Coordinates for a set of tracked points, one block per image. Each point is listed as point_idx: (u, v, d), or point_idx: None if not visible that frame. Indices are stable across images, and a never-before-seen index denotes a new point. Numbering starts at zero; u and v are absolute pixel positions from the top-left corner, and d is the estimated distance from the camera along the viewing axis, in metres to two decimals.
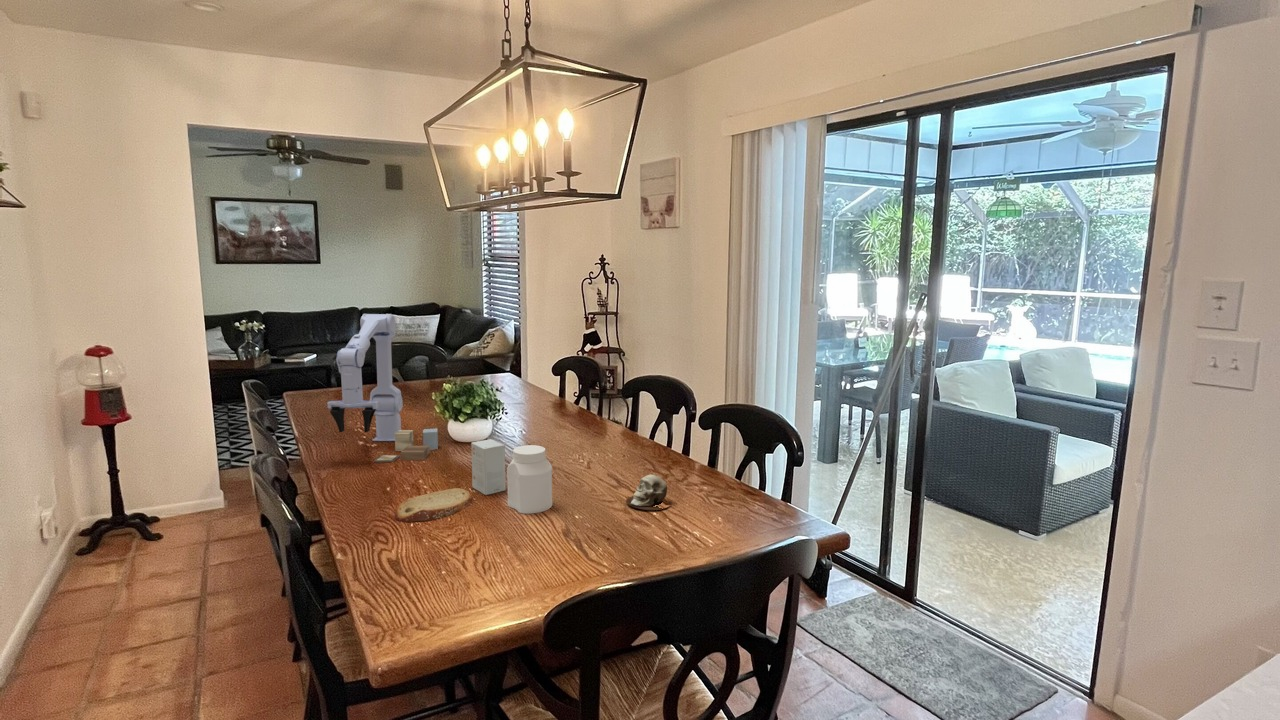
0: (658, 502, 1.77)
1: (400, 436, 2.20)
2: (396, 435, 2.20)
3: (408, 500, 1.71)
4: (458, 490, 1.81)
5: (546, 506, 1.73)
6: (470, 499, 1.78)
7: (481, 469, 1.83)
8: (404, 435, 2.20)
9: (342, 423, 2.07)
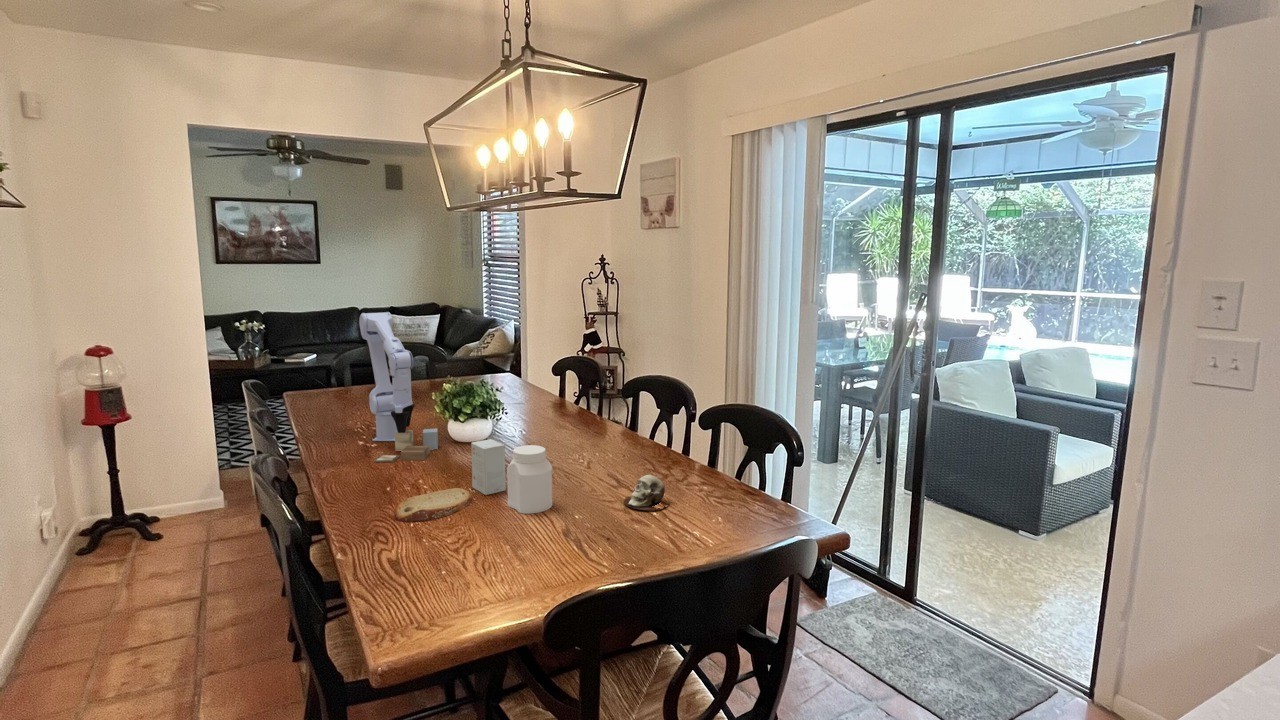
0: (656, 502, 1.77)
1: (400, 436, 2.20)
2: (396, 435, 2.20)
3: (408, 500, 1.71)
4: (458, 490, 1.81)
5: (546, 506, 1.73)
6: (470, 499, 1.78)
7: (481, 469, 1.83)
8: (404, 435, 2.20)
9: (406, 419, 2.25)
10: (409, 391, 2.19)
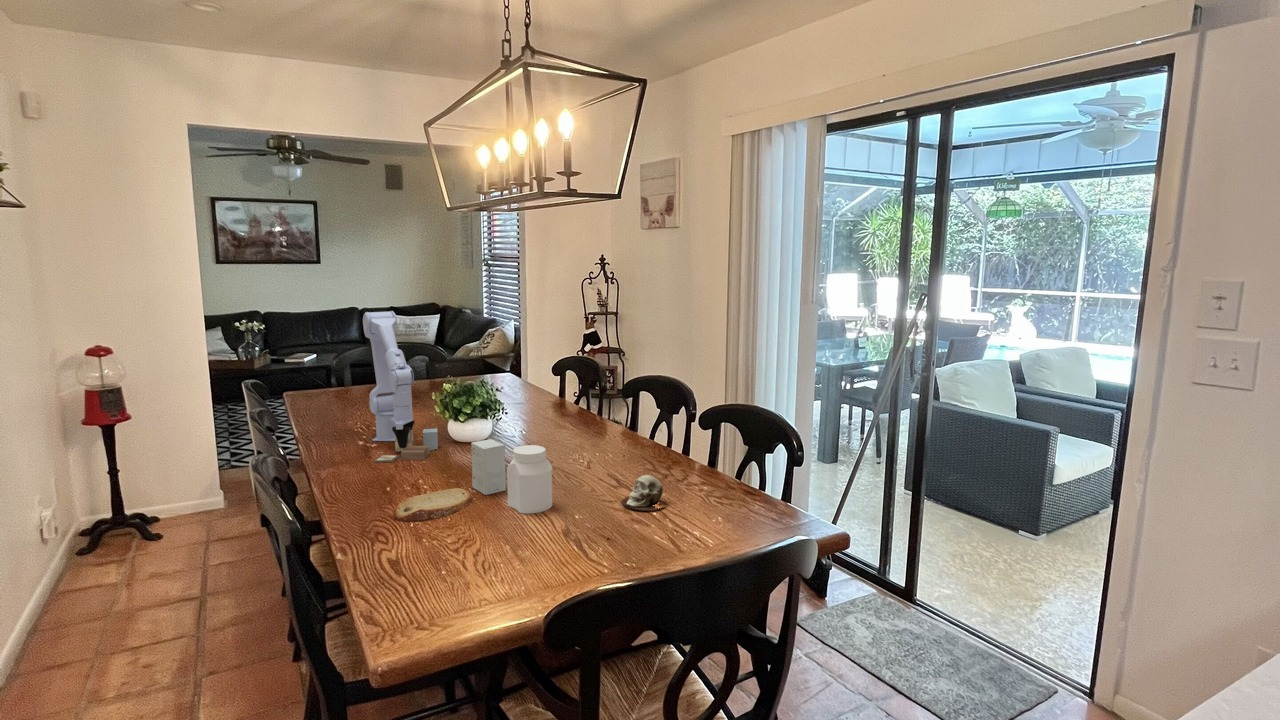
0: (654, 502, 1.77)
1: None
2: None
3: (407, 499, 1.71)
4: (458, 490, 1.81)
5: (546, 506, 1.73)
6: (469, 499, 1.78)
7: (481, 469, 1.83)
8: None
9: None
10: (410, 407, 2.20)
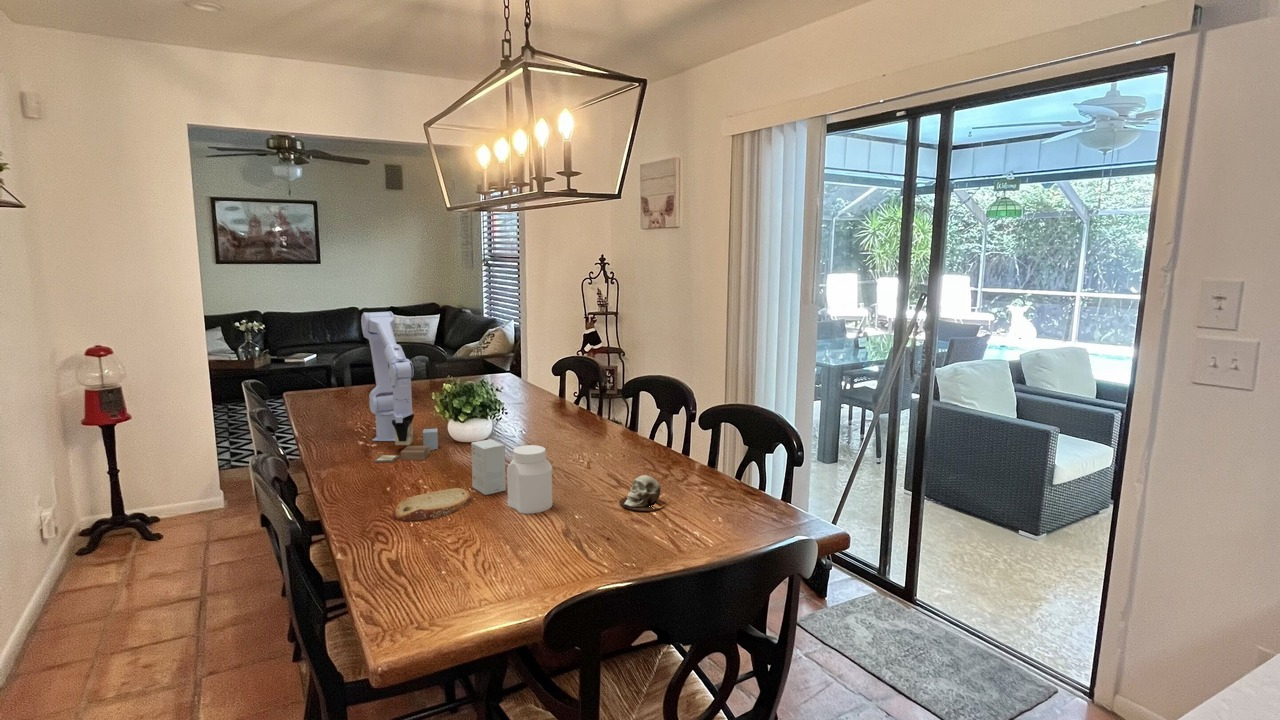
0: (652, 503, 1.77)
1: None
2: None
3: (407, 499, 1.72)
4: (458, 490, 1.81)
5: (546, 506, 1.73)
6: (469, 499, 1.78)
7: (481, 469, 1.83)
8: None
9: None
10: (409, 401, 2.20)
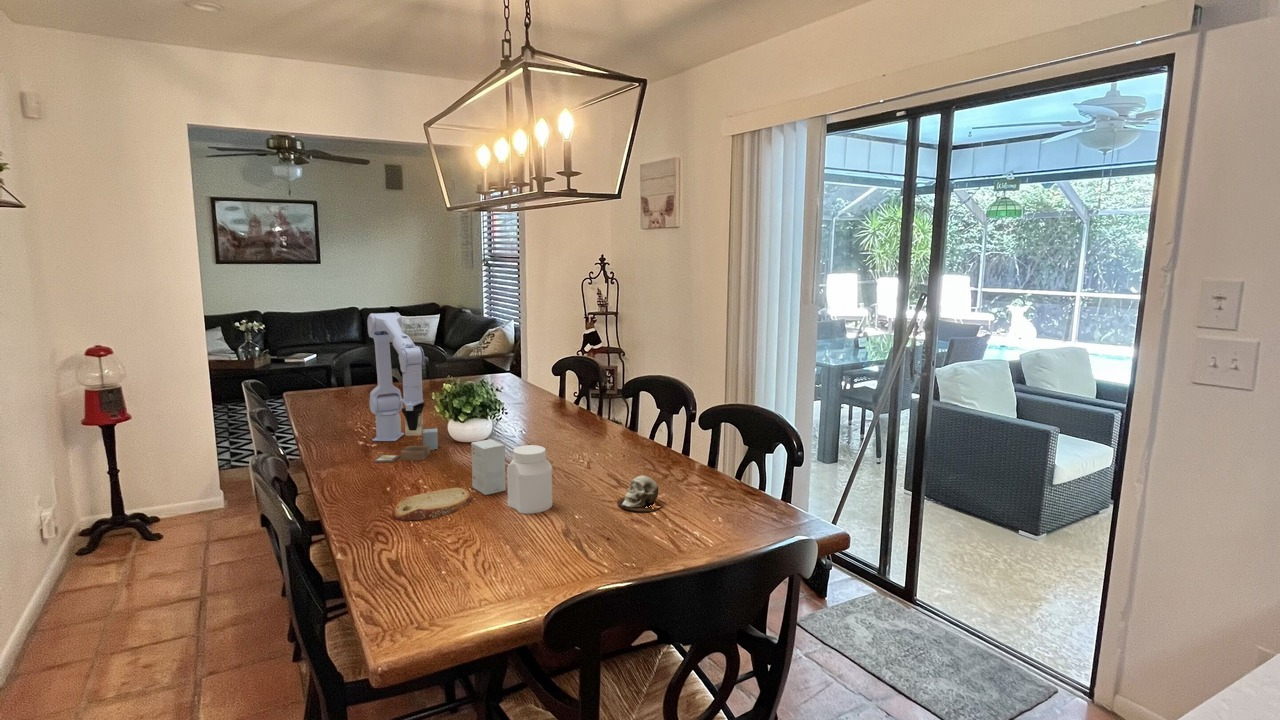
0: (649, 503, 1.76)
1: None
2: None
3: (407, 499, 1.72)
4: (458, 490, 1.81)
5: (546, 506, 1.73)
6: (469, 499, 1.78)
7: (481, 469, 1.83)
8: None
9: None
10: (420, 388, 2.11)
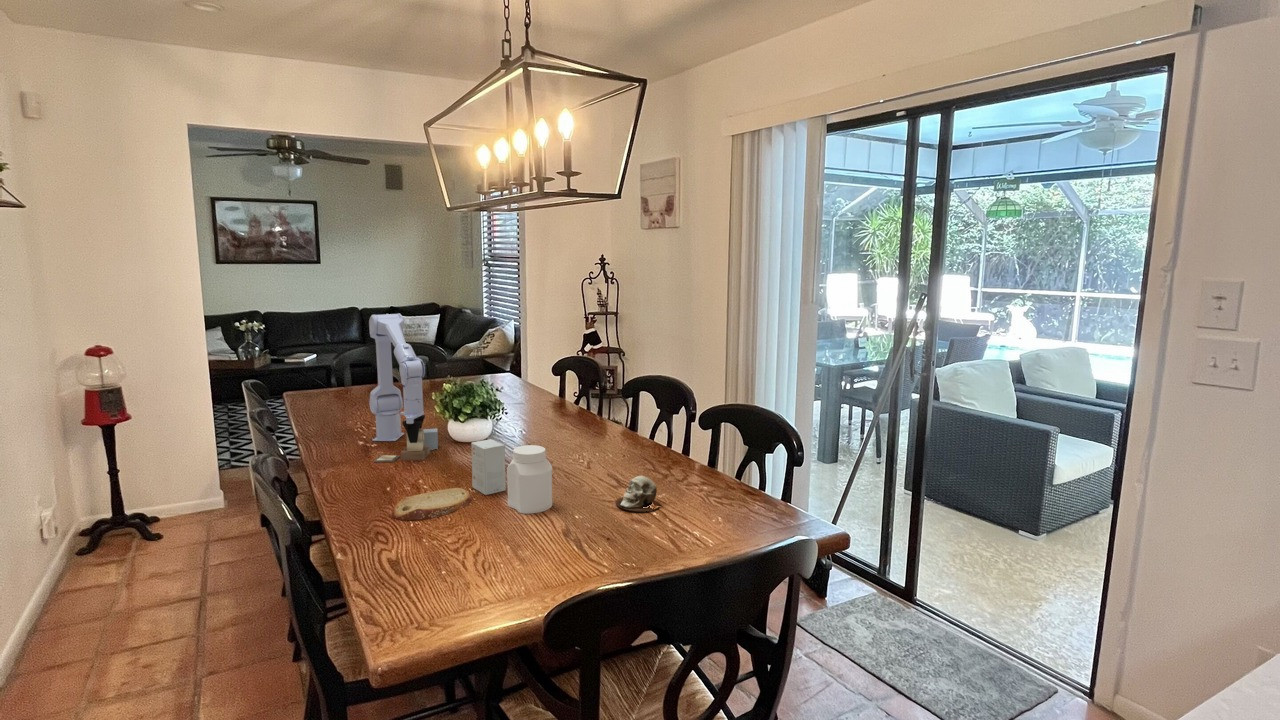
0: (648, 503, 1.76)
1: None
2: None
3: (406, 499, 1.72)
4: (458, 490, 1.81)
5: (546, 506, 1.73)
6: (469, 499, 1.78)
7: (481, 469, 1.83)
8: None
9: None
10: (420, 401, 2.12)
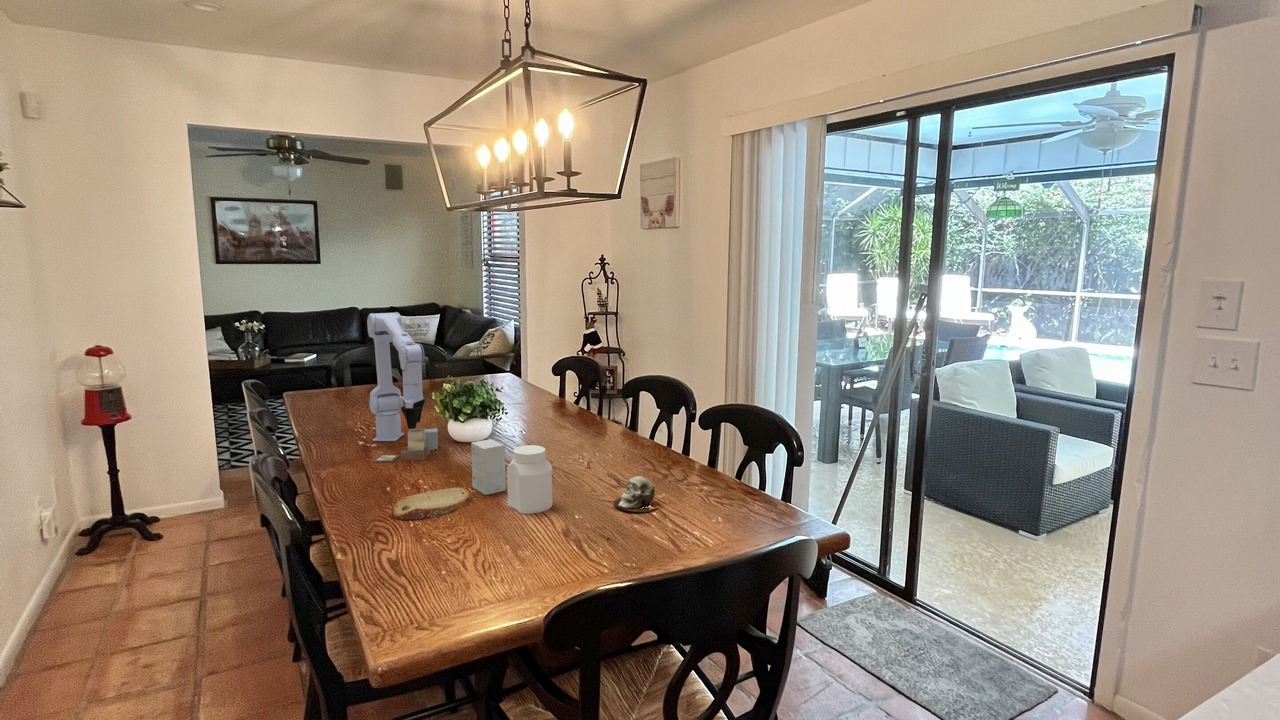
0: (646, 504, 1.76)
1: (413, 435, 2.12)
2: (409, 434, 2.12)
3: (406, 498, 1.72)
4: (458, 489, 1.81)
5: (546, 506, 1.73)
6: (468, 499, 1.78)
7: (481, 469, 1.83)
8: (417, 433, 2.12)
9: None
10: (420, 386, 2.11)
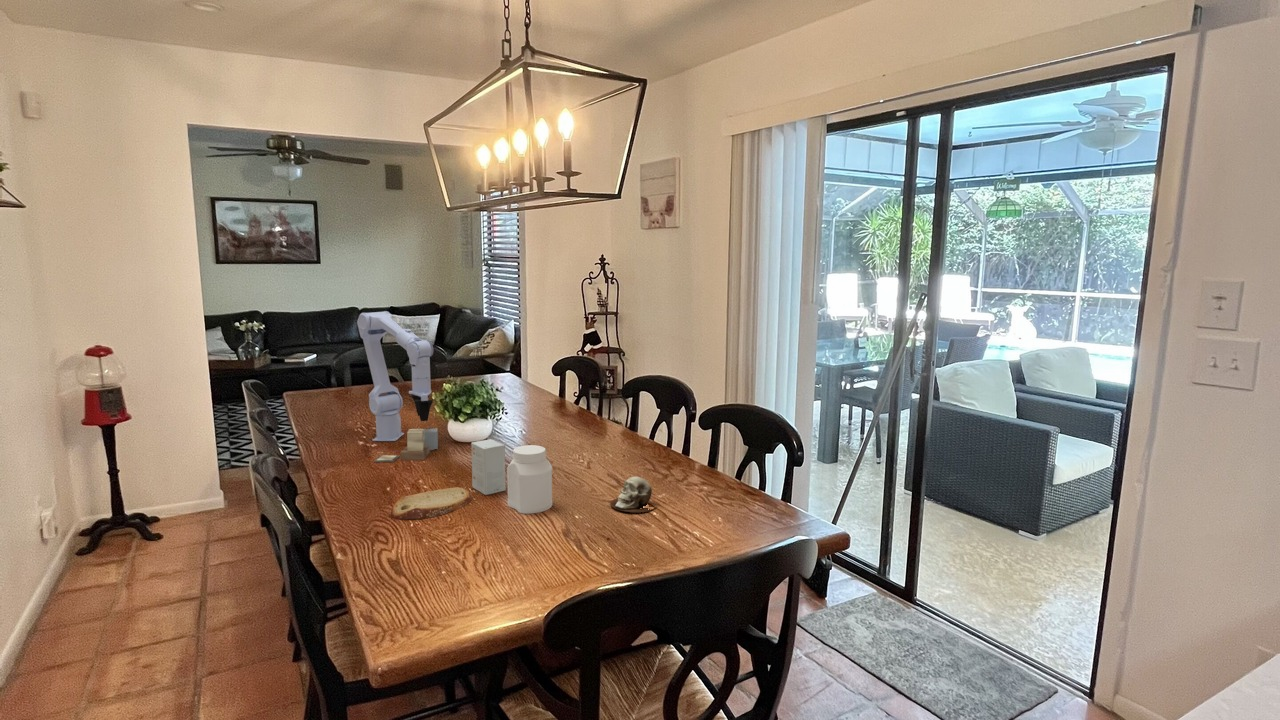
0: (643, 504, 1.76)
1: (413, 435, 2.12)
2: (408, 434, 2.12)
3: (406, 497, 1.73)
4: (458, 489, 1.81)
5: (546, 506, 1.73)
6: (468, 499, 1.78)
7: (481, 469, 1.83)
8: (417, 434, 2.12)
9: None
10: (429, 379, 2.21)
